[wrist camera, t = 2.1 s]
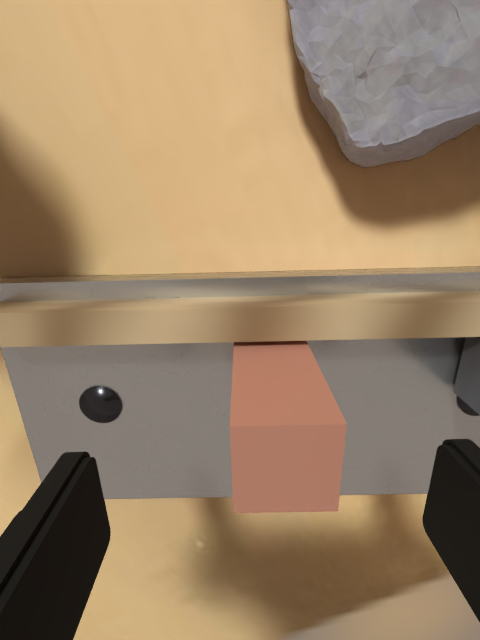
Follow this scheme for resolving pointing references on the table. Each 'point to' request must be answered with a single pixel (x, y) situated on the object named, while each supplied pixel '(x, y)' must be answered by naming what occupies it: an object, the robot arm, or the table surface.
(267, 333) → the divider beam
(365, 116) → the stone block
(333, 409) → the block
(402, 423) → the bolt plate
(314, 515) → the table surface
